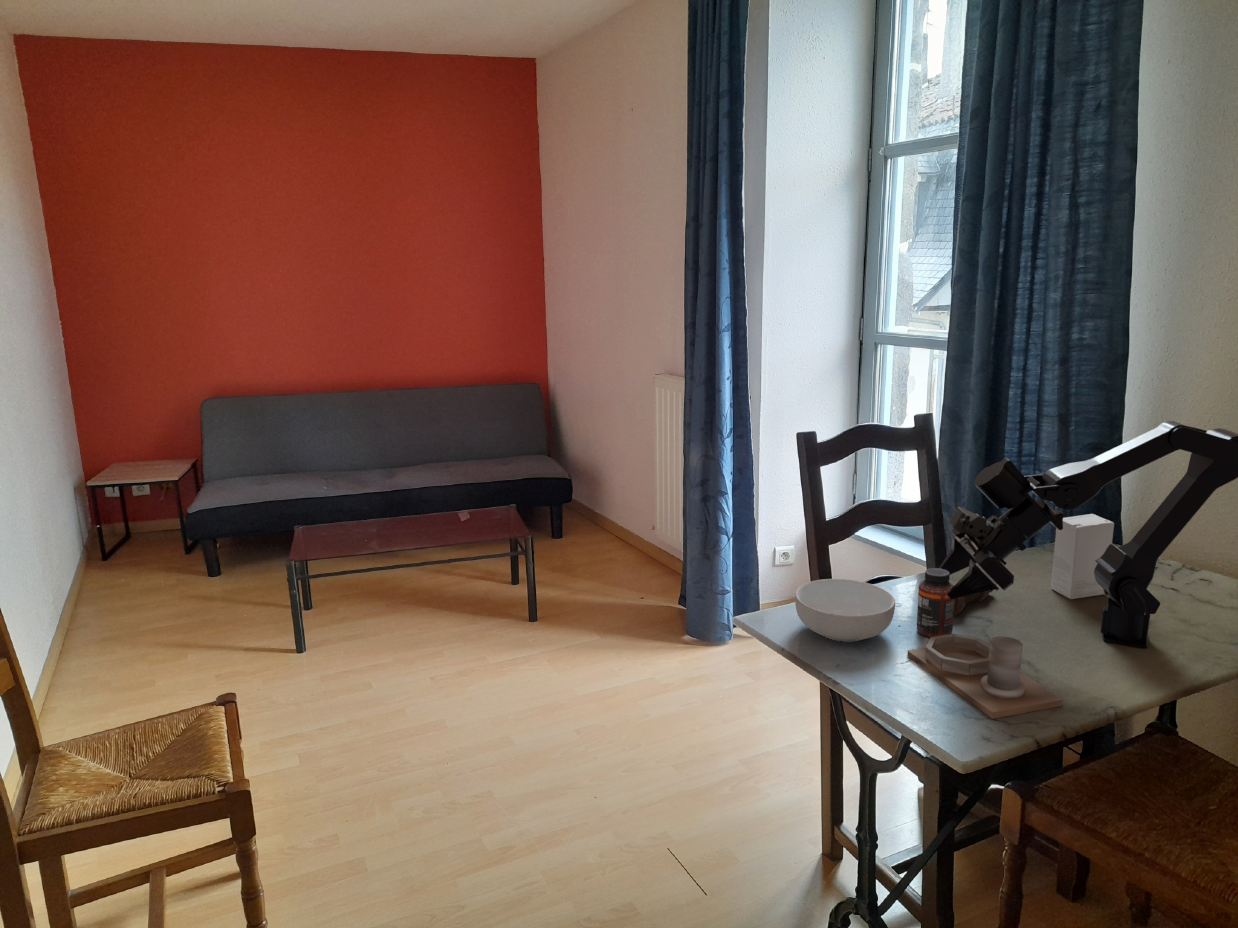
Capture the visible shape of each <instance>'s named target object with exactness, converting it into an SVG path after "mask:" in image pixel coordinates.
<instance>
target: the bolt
mask: <svg viewBox="0 0 1238 928" xmlns="http://www.w3.org/2000/svg"><path fill="white" fill-rule="evenodd" d="M993 591H994V590H990V591H985V592H979V593H975V594H971V595H967V596H963V597H959V598H955V599H954V613H953V617H956V616H958V615H959V614H961V611H963V609H964V608H965V607H966V606H967V603H971V602H972V601H973V602H977V603H981V602H983V601H985V599H986V598H987V597H988V596H989V594H990V593H992V592H993Z"/></svg>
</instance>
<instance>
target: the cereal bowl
mask: <svg viewBox="0 0 1238 928" xmlns="http://www.w3.org/2000/svg"><path fill="white" fill-rule="evenodd" d="M794 598H795V599H794V600H795V609H796V613H797V616H798V618H799V619H800V621H801V622H802V624H803V625H804V626H805V627H807V628H808V629H810V630H811V631H812V632H815V633H816V634H818V635H820V636H823V637H824V636H825V637H824V638H826V639H828V638H829V640H831V639H832V640H831V641H835V640H836V641H835V642H840V641H843V642H842V643H853V642H852V641H855V642H860V641H862V640H867V639H871V638H874V637H876V636H878V635H881V633H883V632H884V631H885V630H886V629H888V627H890V625H891V624H892V621H893V619H894V615H895V609H896V599H895V597H894V596H893V594H892V593H890V592H889V591H888V590H885V589H884V588H882V587H879V586H877V585H875V584H872V583H869V582H865V581H859V580H854V579H847V578H826V579H817V580H812V581H809V582H808V581H807V582H806V583H804V584H801V586H799V587H798V588H797V589H796V591H795V596H794Z"/></svg>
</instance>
